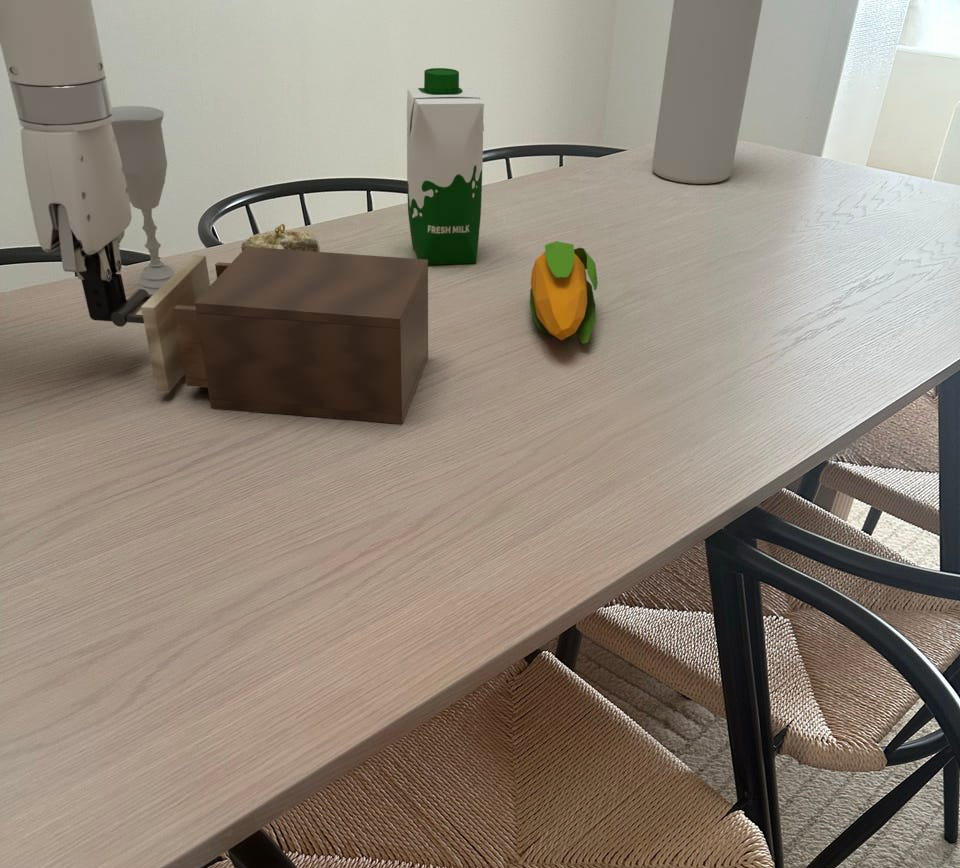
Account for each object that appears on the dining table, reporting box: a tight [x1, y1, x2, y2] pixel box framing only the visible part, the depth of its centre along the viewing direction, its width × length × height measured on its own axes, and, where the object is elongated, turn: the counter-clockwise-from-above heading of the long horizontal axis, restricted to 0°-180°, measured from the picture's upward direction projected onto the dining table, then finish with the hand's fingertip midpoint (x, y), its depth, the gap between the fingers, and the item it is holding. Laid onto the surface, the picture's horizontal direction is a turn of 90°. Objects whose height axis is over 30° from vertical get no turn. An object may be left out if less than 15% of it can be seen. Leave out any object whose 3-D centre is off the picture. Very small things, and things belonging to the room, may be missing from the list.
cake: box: [240, 223, 321, 252], centre depth 117 cm, size 10×10×5 cm
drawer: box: [111, 254, 232, 393], centre depth 93 cm, size 22×14×8 cm, turn 83°
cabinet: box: [195, 247, 429, 425], centre depth 92 cm, size 18×15×10 cm
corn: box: [529, 240, 598, 344], centre depth 105 cm, size 7×8×20 cm
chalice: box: [111, 105, 176, 295], centre depth 107 cm, size 7×7×18 cm
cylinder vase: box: [651, 0, 763, 185], centre depth 149 cm, size 12×12×25 cm
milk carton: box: [406, 67, 485, 266], centre depth 118 cm, size 9×9×20 cm
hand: (110, 317), depth 94 cm, fingers closed
